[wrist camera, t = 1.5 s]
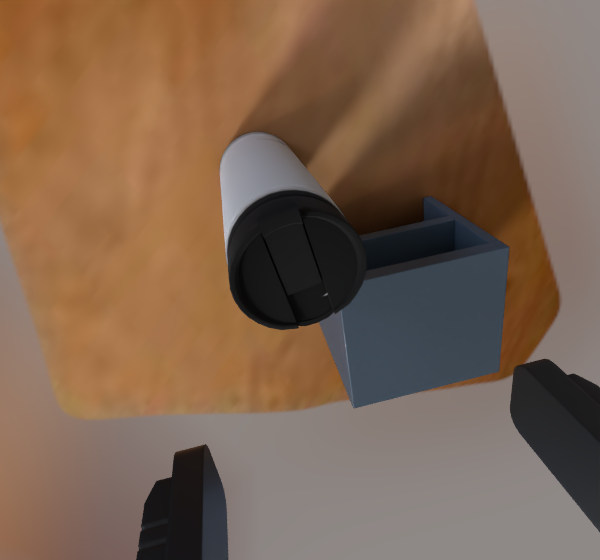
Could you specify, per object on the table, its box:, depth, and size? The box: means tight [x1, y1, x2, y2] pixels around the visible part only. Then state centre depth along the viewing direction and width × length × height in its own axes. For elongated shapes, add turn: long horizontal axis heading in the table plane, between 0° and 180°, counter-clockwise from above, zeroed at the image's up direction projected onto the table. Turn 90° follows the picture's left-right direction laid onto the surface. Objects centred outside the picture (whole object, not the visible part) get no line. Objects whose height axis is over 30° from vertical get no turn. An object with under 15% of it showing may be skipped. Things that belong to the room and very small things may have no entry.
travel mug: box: [220, 132, 367, 330], centre depth 27 cm, size 6×7×20 cm
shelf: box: [319, 196, 509, 408], centre depth 37 cm, size 11×12×12 cm
